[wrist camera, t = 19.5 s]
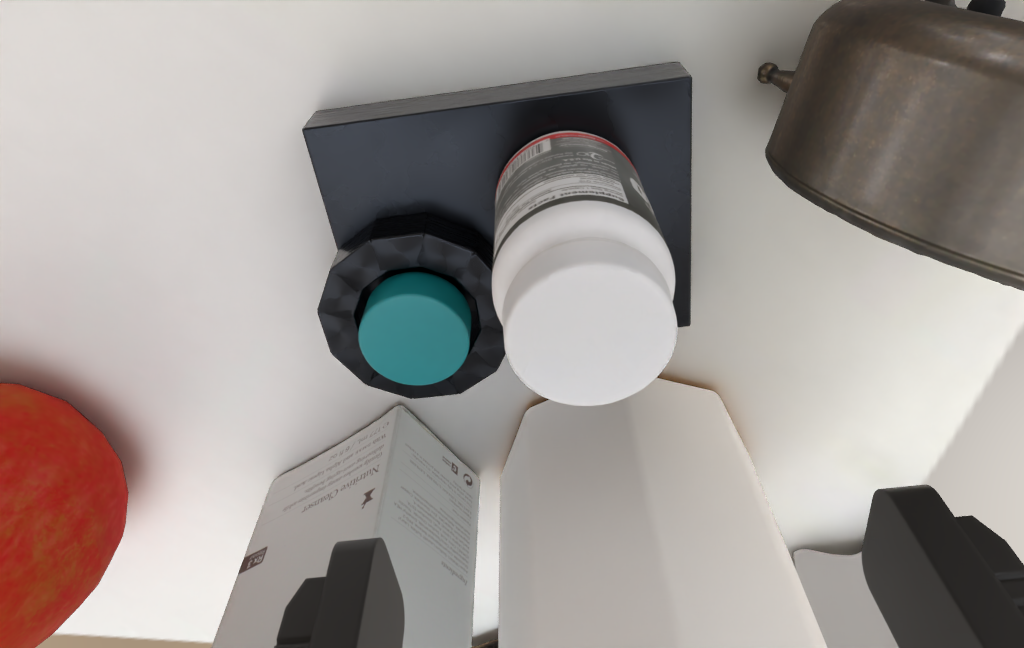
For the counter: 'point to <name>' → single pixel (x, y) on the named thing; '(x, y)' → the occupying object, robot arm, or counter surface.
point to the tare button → (415, 329)
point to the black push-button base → (479, 191)
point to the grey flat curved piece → (842, 600)
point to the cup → (642, 531)
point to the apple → (52, 512)
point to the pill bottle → (581, 272)
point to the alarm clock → (912, 128)
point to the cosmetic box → (367, 533)
